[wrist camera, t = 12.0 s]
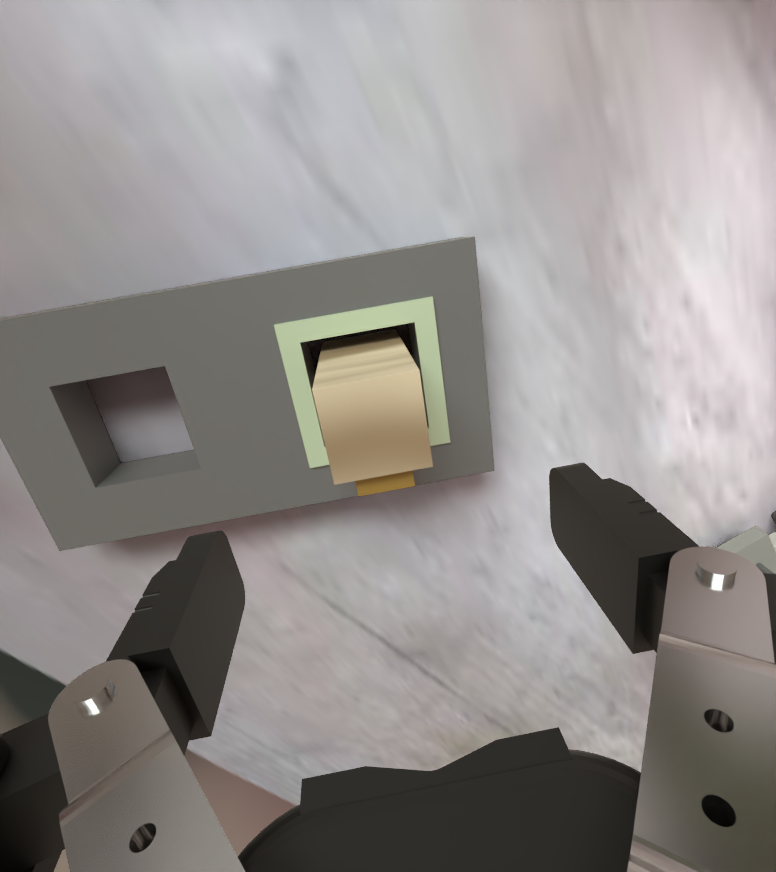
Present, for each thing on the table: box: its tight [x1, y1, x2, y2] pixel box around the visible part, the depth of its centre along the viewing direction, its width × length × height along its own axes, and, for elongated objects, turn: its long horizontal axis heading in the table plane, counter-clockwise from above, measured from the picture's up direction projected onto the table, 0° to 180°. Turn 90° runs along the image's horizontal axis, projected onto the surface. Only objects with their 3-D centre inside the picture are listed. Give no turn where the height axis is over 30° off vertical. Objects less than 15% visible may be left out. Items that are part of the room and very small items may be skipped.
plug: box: [312, 329, 433, 497], centre depth 23 cm, size 5×4×9 cm
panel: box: [0, 237, 494, 551], centre depth 25 cm, size 12×24×3 cm, turn 99°
